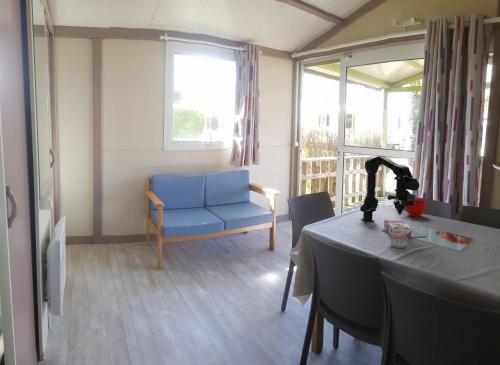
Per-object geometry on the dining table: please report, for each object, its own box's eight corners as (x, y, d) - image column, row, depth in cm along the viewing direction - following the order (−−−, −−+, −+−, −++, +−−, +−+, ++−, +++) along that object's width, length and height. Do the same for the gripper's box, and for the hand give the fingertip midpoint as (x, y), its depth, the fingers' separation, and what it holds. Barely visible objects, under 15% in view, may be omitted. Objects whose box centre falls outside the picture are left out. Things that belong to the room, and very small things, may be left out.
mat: (381, 230, 230) (381, 229, 230) (409, 229, 233) (409, 228, 233) (397, 238, 214) (397, 237, 214) (426, 236, 218) (426, 236, 218)
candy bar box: (383, 228, 234) (390, 235, 218) (383, 220, 233) (391, 227, 217) (402, 228, 233) (411, 236, 217) (403, 220, 232) (412, 227, 216)
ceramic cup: (395, 213, 271) (396, 199, 269) (418, 213, 273) (419, 199, 271) (404, 218, 258) (405, 203, 257) (428, 217, 260) (429, 203, 259)
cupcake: (411, 248, 198) (412, 229, 197) (395, 250, 196) (397, 231, 194) (399, 243, 207) (400, 224, 206) (384, 244, 205) (385, 226, 203)
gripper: (424, 190, 217) (422, 217, 220) (404, 185, 235) (403, 210, 238) (406, 191, 215) (404, 218, 217) (387, 185, 233) (386, 211, 235)
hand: (399, 214), depth 227 cm, fingers closed
